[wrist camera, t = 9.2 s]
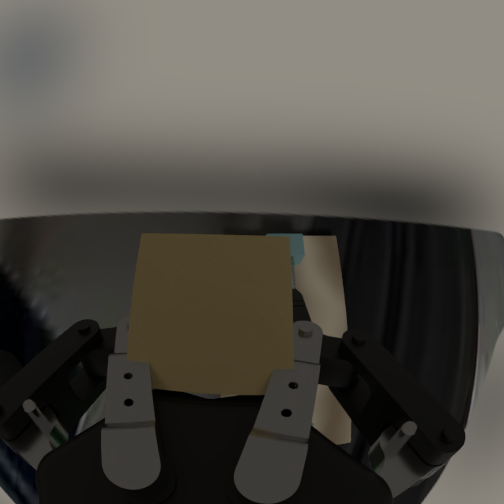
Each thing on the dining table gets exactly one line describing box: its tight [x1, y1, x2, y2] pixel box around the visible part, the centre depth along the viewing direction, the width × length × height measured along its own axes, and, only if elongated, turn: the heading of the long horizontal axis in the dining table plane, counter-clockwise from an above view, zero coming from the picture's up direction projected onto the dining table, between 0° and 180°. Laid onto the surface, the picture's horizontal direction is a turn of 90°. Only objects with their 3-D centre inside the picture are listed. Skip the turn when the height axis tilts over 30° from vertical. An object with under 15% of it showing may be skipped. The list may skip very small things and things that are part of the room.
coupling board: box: [221, 234, 351, 445], centre depth 27 cm, size 14×25×4 cm, turn 1°
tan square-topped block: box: [127, 233, 294, 395], centre depth 12 cm, size 4×4×10 cm
